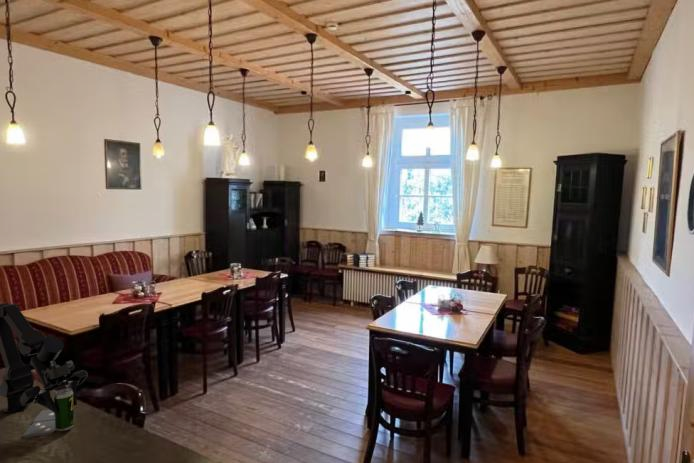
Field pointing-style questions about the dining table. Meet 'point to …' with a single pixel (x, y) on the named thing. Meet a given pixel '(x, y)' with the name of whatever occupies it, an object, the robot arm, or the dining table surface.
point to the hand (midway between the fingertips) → (66, 408)
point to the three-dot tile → (40, 429)
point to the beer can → (64, 409)
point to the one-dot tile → (45, 416)
